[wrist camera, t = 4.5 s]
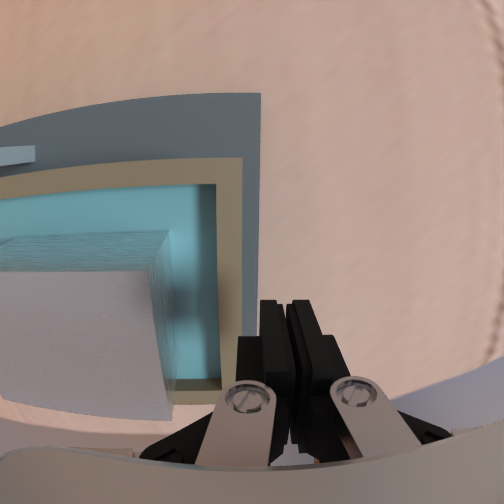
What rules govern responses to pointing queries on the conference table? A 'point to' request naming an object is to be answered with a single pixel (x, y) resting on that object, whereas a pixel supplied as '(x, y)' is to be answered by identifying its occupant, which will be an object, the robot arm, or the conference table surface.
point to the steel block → (90, 323)
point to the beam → (156, 218)
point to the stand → (153, 150)
